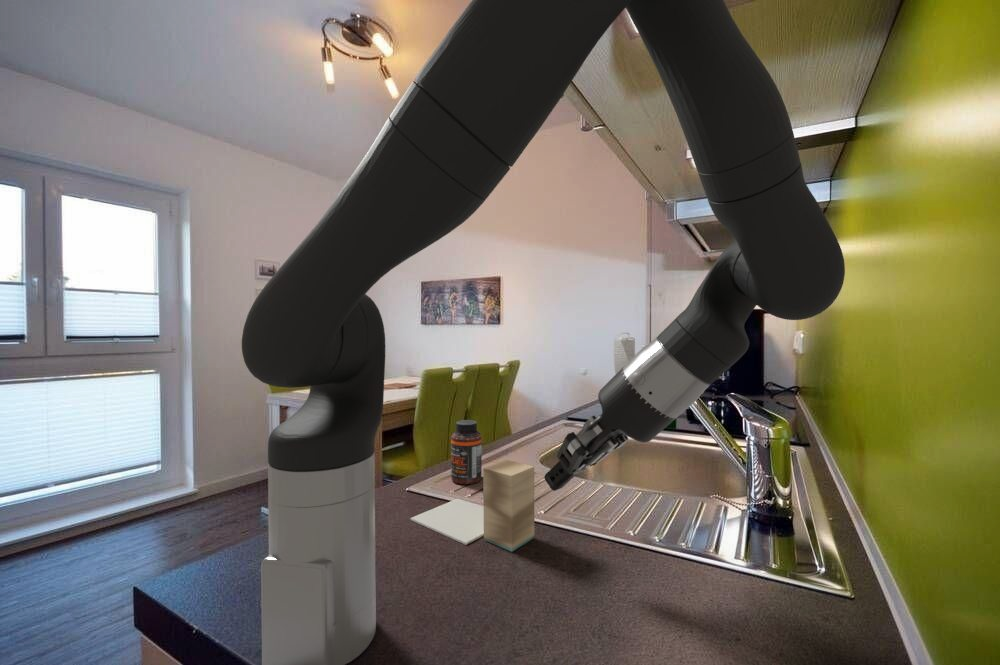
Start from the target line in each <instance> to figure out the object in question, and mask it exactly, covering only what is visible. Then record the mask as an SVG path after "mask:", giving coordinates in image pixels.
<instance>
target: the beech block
mask: <svg viewBox="0 0 1000 665" xmlns="http://www.w3.org/2000/svg"><path fill="white" fill-rule="evenodd" d="M482 472H483V475H482V476H483V478H482V480H483V486H482V487H483V490H482V491H483V492H482V493H483V508H484V536H483V540H484V541H485V542H488V543H490V544H493V545H495V546H497V547H500V548H502V549H505V550H507V551H509V552H514V551H515V550H517V549H519V548H520V547H522V546H524V545H526V544H527V543H528V542H531V541H532V540H533V539H534V538H535V466H532V465H529V464H524V463H521V462H516V461H513V460H508V459H505V460H502V461H499V462H497V463H494V464H491V465H488V466H486V467H483V468H482Z"/></svg>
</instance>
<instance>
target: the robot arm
mask: <svg viewBox="0 0 1000 665" xmlns="http://www.w3.org/2000/svg"><path fill="white" fill-rule="evenodd" d="M624 10H626V11H627V13H628V15H629V17H630V19H631V21H632V23H633V25H634V27H635V28H636V30H637V32H638V34H639V36H640V39H641V40H642V42H643V45H644V46H645V48H646V50H647V52H648V54H649V57H650V58H651V60H652V62H653V64H654V66H655V68H656V71H657V72H658V73H657V74H658V75H659V76H660V80H661V81H662V84H663V86H664V87H665V90H666V93H667V95H668V97H669V99H670V102H671V104H672V107H673V109H674V112H675V114H676V117H677V118H678V122H679V124H680V127H681V129H682V132H683V134H684V138H685V140H686V143H687V146H688V148H689V150H690V154H691V157H692V160H693V162H694V165H695V169H696V171H697V175H698V177H699V180H700V182H701V185H702V186H701V187H702V188H703V191H704V193H705V196H706V199H707V201H708V204H709V207H710V209H711V212H712V213H713V215H714V217H715V218H716V219H717V220H718V222H719V223H720V224H721V225H722V226H723V227H724V228H725V229H726V230H727V231H728V232H729V233H730V234H731V235H732V237H733V238H734V240H733V242H731V243H730V244H729V245H728V246H727V247H726V248H725V249H724V250H723V251H722V252H721V254H720V255H719V256H718V257H717V259H716V260H715V262H714V263H713V265H712V266H711V268H710V269H709V271H708V273H706V276H705V277H704V279H703V280H702V282H701V283H700V285H699V286H698V288H697V290H696V291H695V293H694V295H693V297H692V298H691V300H690V302H689V304H688V305H687V307H685V309H684V310H682V312H681V313H680V314H678V315H677V316H676V317H675V319H673V320H672V321H671V322H670V323H669V325H667V327H665V329H664V330H662V331H661V332H660V333H659V334H658V335H657V336H656V337H655V338H654V339H652V340H651V341H650V342H649V343H648V344H646V345H645V346H644V347H642V348H641V349H640V350H638V352H637V353H635V356H634V357H633V358H632V359H631V360H630V361H629V362H628V363H627V364H626V365H625V366H624V367H623V368H622V369H621V370H620V371H619V372H618V373H617V374H615V375H614V376H613V377H612V378H611V379H609V381H608V382H607V383H606V384H605V385H603V386H602V387H601V389H600V390H599V392H598V395H597V398H598V403H599V404H600V406H601V414H600V415H598V416H596V415H592V416H591V417H590V418H588V419H587V420H586V421H585V422H584V423H583V425H582V429H581V430H580V431H579V432H577V434H576V433H575V432H574V431H573V432H569V433H568V434H566V436H565V437H564V439H563V442H562V443H561V446H560V448H559V450H558V452H557V454H556V457H557V459H558V462H557V463H556V464H554V466H552V467H551V469H550V470H548V471H547V472H546V473H545V474H544V476H543V478H544V481H545V482H546V483H547V485H548V487H549V488H550V489H551V490H552V491H553V492H555V491H557V490H560V489H562V488H563V487H565V486H566V485H567V484H568V483H569V482H571V480H572V479H573V478H575V476H577V475H578V474H580V473H581V472H585V471H586V470H587V468H589V467H592V466H596V465H597V463H598V462H602V461H603V460H604V459H605V458H607V457H608V456H609V455H610V454H611V453H612V452H613V451H615V450H617V449H620V448H621V447H623V446H624V445H625V444H626V443H627V442H628V440H629V438H630V439H632V440H634V441H636V442H639V443H643V444H644V443H648V442H650V441H652V440H653V439H655V438H656V436H658V435H659V434H660V433H661V432H663V430H664V429H666V428H667V427H669V425H670V424H672V423H673V421H675V420H676V419H677V418H678V417H679V416H680V415H682V414H683V413H684V412H685V411H686V410H687V409H689V408H690V407H691V406H692V405H693V404H694V403H695V402H696V401H697V400H698V399H699V398H700V397H702V396H701V395H702V394H703V393H704V392H705V391H706V390H707V389H708V388H709V387H710V385H711V384H713V383H714V382H716V380H717V379H719V378H720V377H721V376H723V374H725V372H727V371H728V370H729V369H730V368H731V367H732V366H734V365H735V364H736V363H737V362H738V361H739V360H740V359H742V357H743V356H744V355H745V354H746V352H747V351H748V350H749V347H750V339H749V337H748V334H747V333H746V332H747V331H746V329H745V323H746V322H747V320H748V318H749V317H750V316H751V314H752V312H753V311H754V310H755V308H756V307H757V306H758V307H759V308H760V309H761V310H763V311H764V312H766V314H769V315H771V316H774V317H776V318H779V319H783V320H787V321H801V320H806V319H810V318H813V317H815V316H817V315H820V314H821V313H823V312H825V311H826V310H827V309H828V308H830V307H831V306H832V304H834V302H835V301H836V300H837V298H838V296H839V295H840V293H841V291H842V288H843V285H844V281H845V275H846V267H845V259H844V254H843V250H842V248H841V245H840V243H839V241H838V239H837V236H836V234H835V232H834V230H833V229H832V227H831V225H830V223H829V221H828V219H827V217H826V216H825V213H824V212H823V209H822V208H821V205H820V204H819V202H818V201H817V200H816V198H815V196H814V194H813V193H812V191H811V190H810V188H809V187H808V186H809V185H807V183H806V180H805V177H804V172H803V166H802V162H801V157H800V154H799V150H798V146H797V142H796V138H795V133H794V130H793V127H792V123H791V120H790V116H789V112H788V110H787V107H786V105H785V102H784V100H783V97H782V95H781V93H780V91H779V87H778V86H777V84H776V83H775V81H774V79H773V78H772V76H771V74H770V72H769V71H768V69H767V68H766V66H765V65H764V64H763V62H762V60H761V59H760V57H759V56H758V55H757V53H756V52H755V50H754V49H753V47H752V46H751V44H750V43H749V41H748V40H747V39H746V38H745V37H744V35H743V34H742V32H741V30H740V28H739V26H737V23H736V22H735V20H734V19H733V17H732V15H731V13H730V10H729V9H728V7H727V5H726V3H725V1H724V0H471V1H470V2H469V4H468V5H467V6H466V8H464V10H463V11H462V13H461V14H460V16H459V17H458V18H457V20H455V23H454V24H453V25H452V27H450V29H449V30H448V32H447V33H446V34H445V36H444V37H443V38H442V39H441V42H439V44H438V46H436V48H435V50H434V51H433V52H432V54H431V55H430V56H429V58H428V59H427V61H426V62H425V63H424V65H423V66H422V67H421V68H420V70H419V71H418V73H417V74H416V75H415V77H414V80H412V82H411V83H410V85H409V86H408V87H407V89H406V91H405V92H404V94H403V95H402V97H401V98H400V100H399V101H398V102H397V104H396V106H395V107H394V109H393V111H392V112H391V113H390V115H389V117H388V118H387V119H386V121H385V123H384V125H383V126H382V128H381V130H380V131H379V133H378V135H377V136H376V138H375V140H373V143H372V145H371V146H370V148H369V150H368V151H367V153H366V154H365V155H364V156H363V159H362V160H361V161H360V163H359V164H358V166H357V167H356V169H355V170H354V172H352V174H351V176H349V178H348V180H347V181H346V182H345V184H344V186H343V187H342V188H341V190H340V191H339V192H338V194H337V196H336V197H335V198H334V200H333V201H332V203H331V204H330V205H329V207H328V208H327V210H326V211H325V212H324V213H323V215H322V217H320V219H319V221H318V222H317V223H316V224H315V225H314V227H313V228H312V229H311V231H310V232H309V233H308V234H307V236H305V238H304V239H303V240H302V241H301V243H300V244H299V245H298V246H297V247H296V248H295V250H294V251H293V252H292V253H291V254H290V255H289V256H288V257H287V259H286V260H285V261H284V262H283V263H282V265H281V266H280V267H279V268H278V270H277V271H276V272H275V273H274V275H272V277H271V278H270V279H269V280H268V281H267V283H266V284H265V285H264V287H263V288H262V289H261V291H260V292H259V294H258V295H257V297H256V298H255V300H254V302H253V303H252V304H251V305H252V306H251V307H250V309H249V312H248V313H247V316H246V320H245V322H244V325H243V329H242V337H241V353H242V357H243V361H244V365H245V366H246V368H247V369H248V371H249V373H250V374H251V375H252V376H253V377H254V378H255V379H256V380H259V381H260V382H262V383H263V384H266V385H269V386H271V387H277V388H278V387H279V388H289V389H291V388H292V389H293V388H305V387H310V388H309V394H308V397H307V398H306V400H305V402H304V403H303V404H302V405H301V407H299V409H298V410H297V411H296V412H294V413H293V414H292V415H291V416H290V417H288V418H287V419H286V420H284V421H283V422H282V423H280V424H279V425H277V426H276V427H274V429H272V431H271V433H270V434H269V437H268V441H267V469H268V470H267V478H268V482H267V484H268V485H267V488H268V491H267V492H268V494H267V495H268V497H267V501H268V504H267V507H268V555H267V556H266V557H265V558H264V559H263V560H262V561H261V565H260V570H261V571H260V576H261V577H260V578H261V579H260V580H261V583H260V584H261V586H260V587H261V589H260V591H261V597H260V598H261V665H347V664H349V663H350V662H352V661H353V660H355V659H356V658H358V657H359V656H360V655H361V654H362V653H364V652H365V650H366V649H367V648H368V647H369V645H370V644H371V642H372V641H373V639H374V638H375V635H376V631H377V630H376V628H377V610H376V608H377V606H376V603H377V601H376V595H377V594H376V591H377V590H376V505H375V504H376V502H375V501H376V495H375V494H376V493H375V492H376V490H375V489H376V488H375V485H376V484H375V482H376V478H375V477H376V474H375V473H376V472H375V470H376V469H375V468H376V467H375V465H376V464H375V449H376V447H375V443H376V442H375V440H376V435H377V432H378V429H379V427H380V425H381V421H382V417H383V411H384V396H385V395H384V393H385V375H386V373H385V372H386V371H385V370H386V369H385V368H386V333H385V326H384V322H383V317H382V315H381V312H380V310H379V308H378V306H377V303H375V301H374V300H373V299H372V298H371V296H368V294H367V293H368V292H369V291H370V289H371V288H373V286H374V285H375V284H376V283H377V282H378V281H380V279H381V278H382V277H384V276H386V274H388V273H389V272H391V271H392V270H393V269H394V268H396V267H398V266H399V265H400V264H402V263H404V262H405V261H406V260H408V259H410V258H411V257H413V256H415V255H416V254H418V253H420V252H421V251H423V250H425V249H426V248H428V247H430V246H431V245H433V244H435V243H436V242H438V241H439V240H440V239H442V238H444V237H445V236H447V235H448V234H450V233H452V232H453V231H454V230H456V229H457V228H458V227H459V226H460V225H462V224H463V223H465V222H466V221H467V220H468V219H469V218H470V217H471V216H472V215H473V214H475V213H476V211H477V210H478V209H479V208H480V207H481V205H483V204H484V203H485V202H486V200H487V199H488V198H489V196H490V195H491V194H492V193H493V192H494V190H495V189H496V187H497V186H498V185H499V184H500V182H501V181H502V180H503V178H505V176H507V174H508V172H509V171H510V170H511V167H513V166H514V164H515V163H516V162H517V160H518V159H519V157H520V156H521V155H522V154H523V153H524V151H525V149H527V147H528V145H529V144H530V142H531V141H532V140H533V139H534V137H535V136H536V135H537V133H538V132H539V130H540V129H541V127H542V126H543V125H544V124H545V121H547V120H548V117H549V116H550V115H551V113H553V112H552V111H553V110H554V109H555V108H556V106H557V105H558V103H559V102H560V100H561V99H562V97H563V95H564V94H565V92H566V91H567V89H568V88H569V86H570V85H571V83H572V82H573V80H574V79H575V77H576V75H577V74H578V72H579V70H580V69H581V67H582V66H583V64H584V62H585V61H586V59H587V58H588V56H589V55H590V54H591V53H592V51H593V50H594V49H595V46H596V45H597V43H598V42H599V41H600V39H602V37H603V36H604V34H605V33H606V32H607V30H608V29H609V28H610V27H611V25H612V24H613V23H614V22H615V21H616V19H617V18H618V17H619V16H620V15H621V14H622V12H623V11H624Z"/></svg>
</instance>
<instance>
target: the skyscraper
mask: <svg viewBox="0 0 1000 665" xmlns="http://www.w3.org/2000/svg"><path fill="white" fill-rule="evenodd" d="M620 335H627V336H625V337H624V336H622V337H621V336H620ZM630 335H631V334H630V333H629V332H620V333H618V334H617V335H616V336H614V338H613V344H612V346H613V351H612V353H613V356H612V357H613V367H614V368H613V369H614V372H615V375H616V374H617V373H618V372H619V371H620V370H621V369H622V368H623V367H624V366H625V365H626V364H627V363H628V362H629V361H630V360H631V359H632V358H633V357H634V356H635V355H636V338H635V337H630ZM619 336H620V337H619ZM617 337H619V339H617Z"/></svg>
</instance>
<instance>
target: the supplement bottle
mask: <svg viewBox="0 0 1000 665" xmlns="http://www.w3.org/2000/svg"><path fill="white" fill-rule="evenodd" d="M455 425H456V426H455V429H456V430H455V432H453V433H452V435H451V436H450V476H451V477H450V479H451V481H452V482H454V483H456V484H458V483H459V485H473V484H476V483H478V482H479V481H481V480H482V472H483V468H482V465H483V463H482V458H483V457H482V456H483V455H482V451H483V450H482V443H483V442H482V435H481V432H479V431H478V429H477V426H478V425H477V421H475V420H472V419H470V420H469V419H463V420H459V421H456V423H455Z"/></svg>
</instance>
